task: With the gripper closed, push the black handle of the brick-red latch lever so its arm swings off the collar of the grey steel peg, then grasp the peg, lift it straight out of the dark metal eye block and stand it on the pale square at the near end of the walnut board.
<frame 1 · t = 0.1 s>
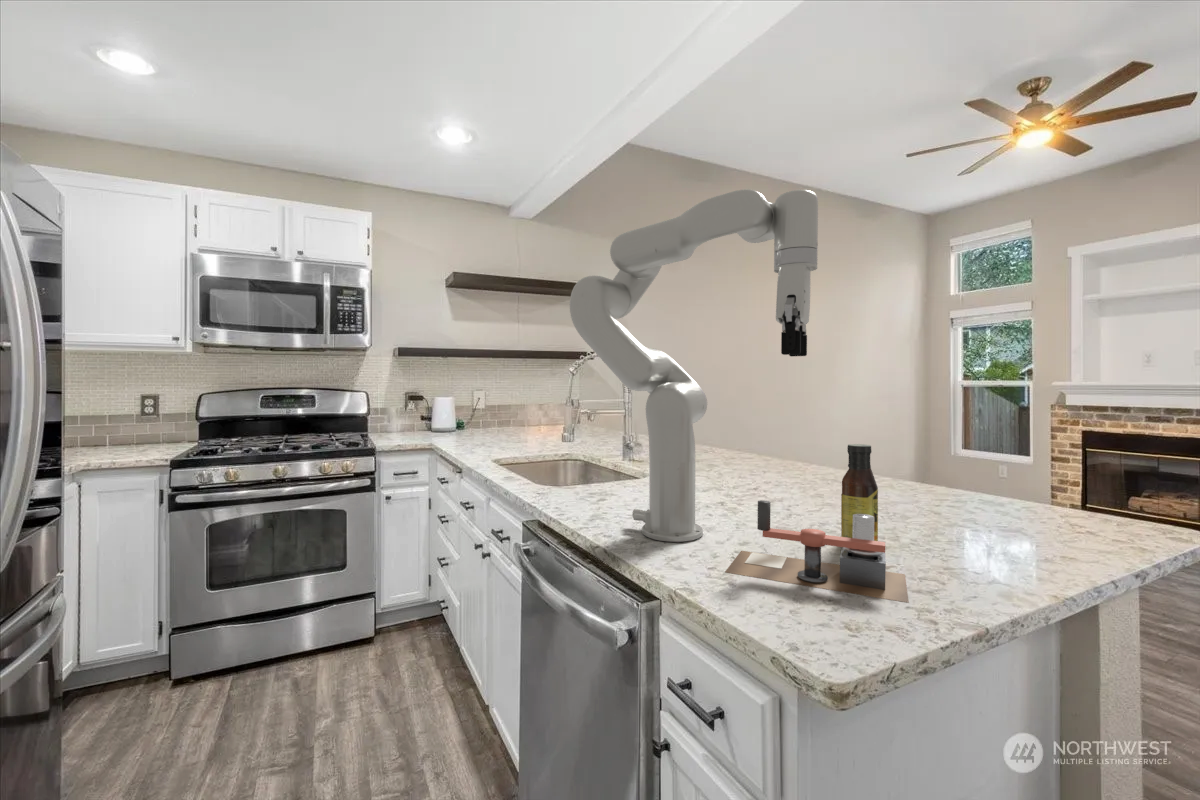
hand: (794, 355, 99), 37 cm above the worktop, tool pointing down, fingers open, 9 cm apart
eye block: (862, 585, 83), resting on board
peg: (862, 579, 83), point 1 cm above the worktop, touching board
sauce bottle: (858, 550, 101), on the worktop
board: (814, 579, 86), on the worktop
lever: (818, 525, 83), point 9 cm above the worktop, hinge at 0.0°
pivot post: (812, 584, 84), resting on board
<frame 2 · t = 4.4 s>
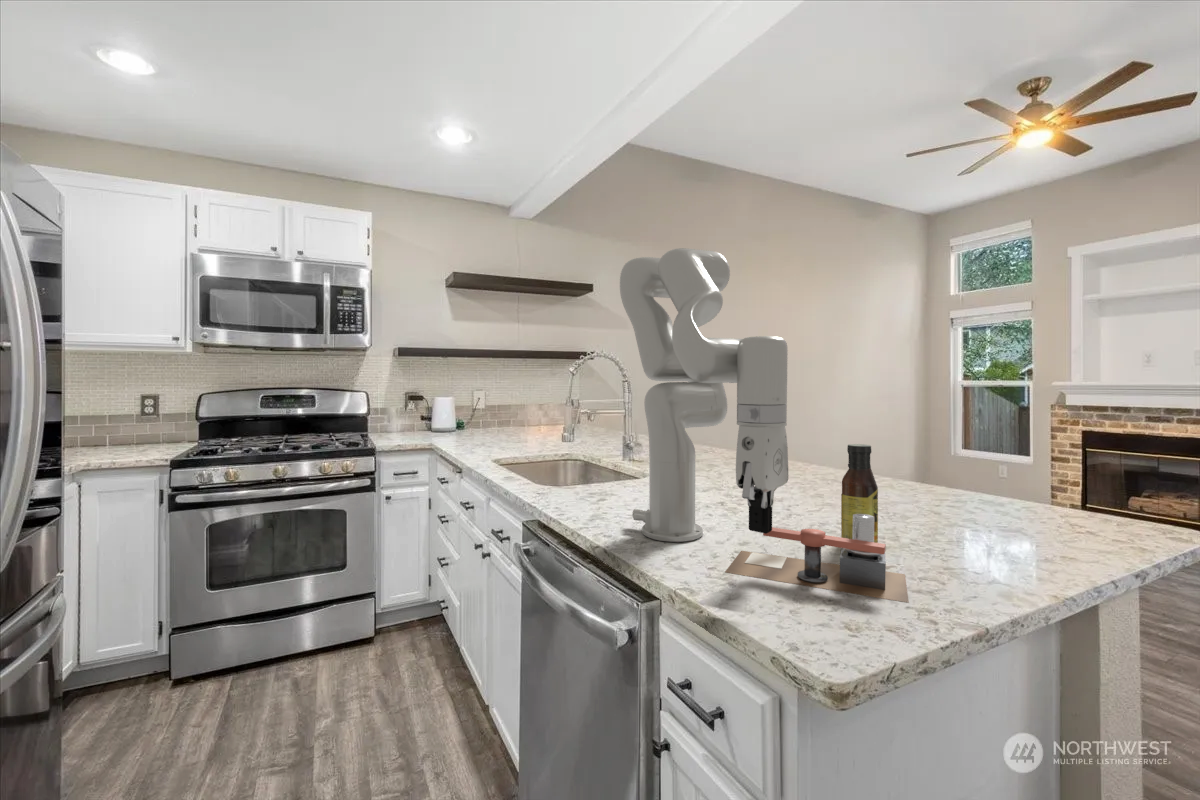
hand: (760, 530, 84), 8 cm above the worktop, tool pointing down, fingers closed
lever: (818, 525, 83), point 9 cm above the worktop, hinge at -5.7°, touching gripper
everything else where it was.
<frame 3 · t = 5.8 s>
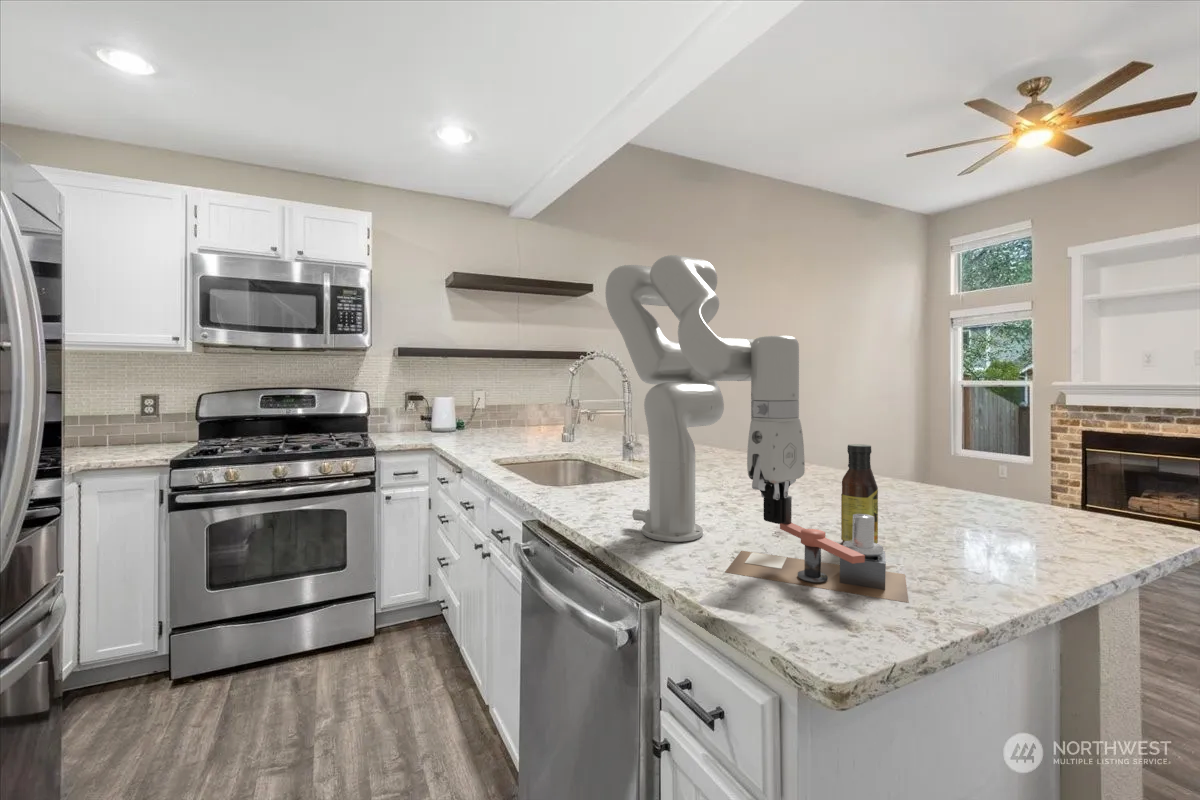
hand: (774, 521, 88), 9 cm above the worktop, tool pointing down, fingers closed
lever: (816, 526, 83), point 9 cm above the worktop, hinge at -48.3°, touching gripper
everything else where it was.
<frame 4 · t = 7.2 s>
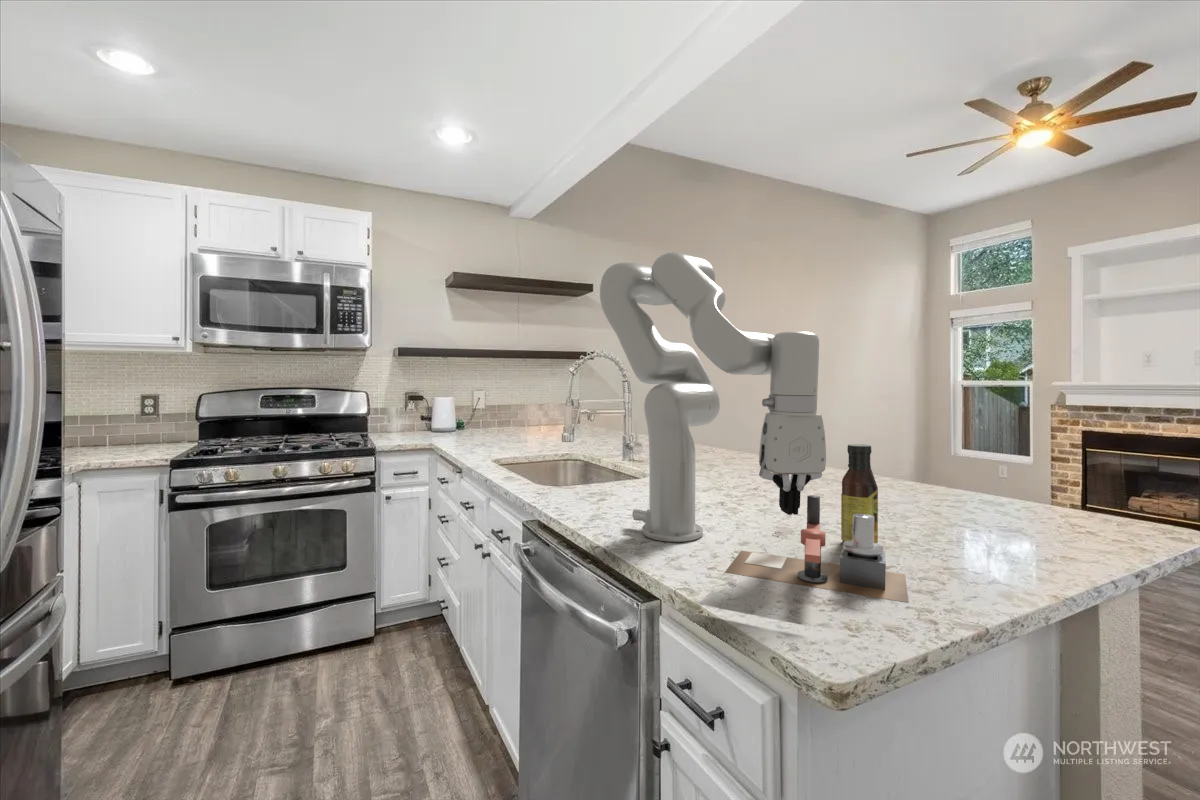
hand: (789, 512, 91), 10 cm above the worktop, tool pointing down, fingers closed
lever: (813, 526, 83), point 9 cm above the worktop, hinge at -84.7°
everything else where it was.
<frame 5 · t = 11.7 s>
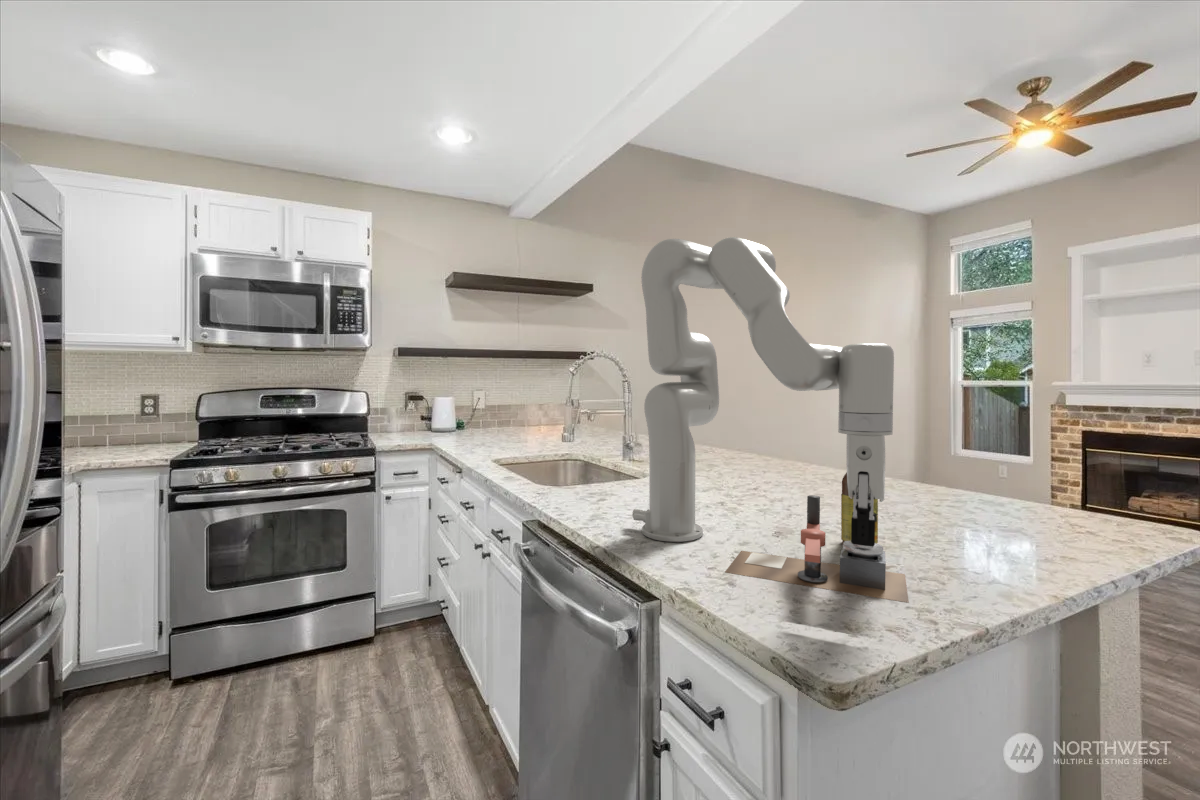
hand: (863, 540, 83), 7 cm above the worktop, tool pointing down, fingers closed on peg, 3 cm apart
peg: (862, 579, 83), point 1 cm above the worktop, touching board, gripper
everything else where it was.
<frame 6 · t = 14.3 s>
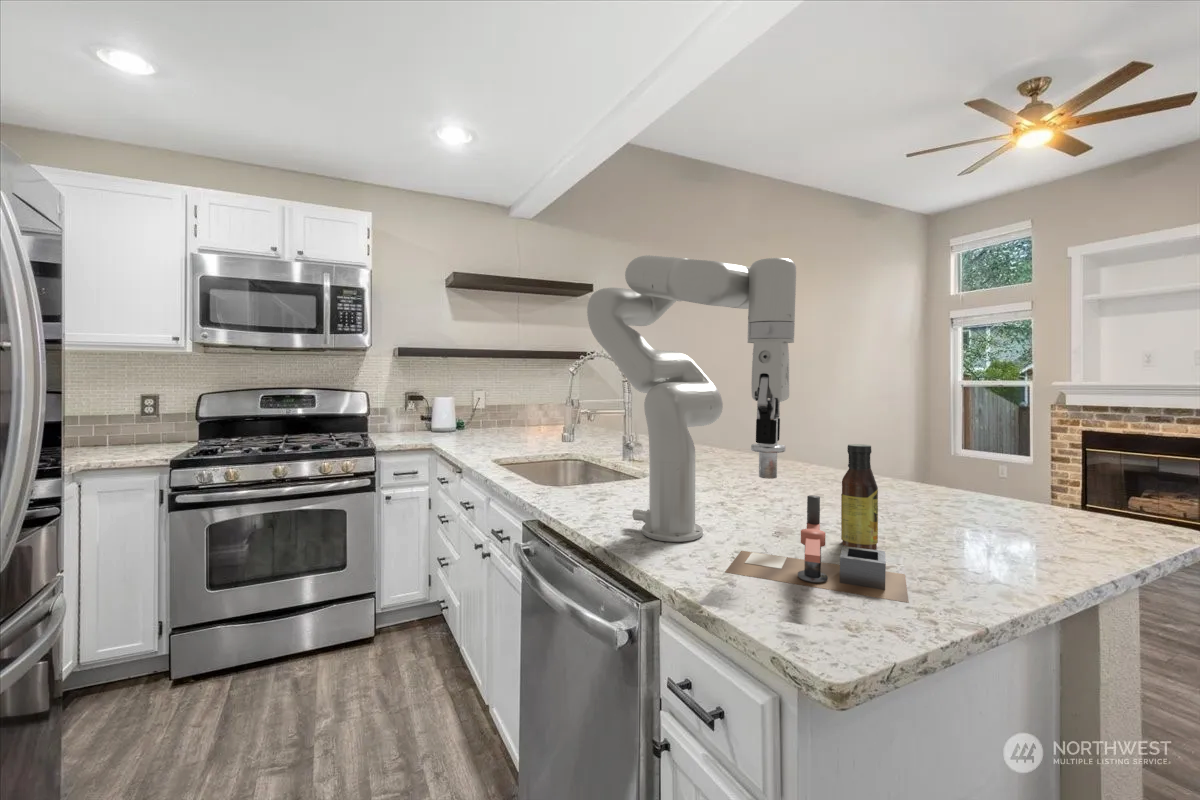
hand: (767, 441, 91), 22 cm above the worktop, tool pointing down, fingers closed on peg, 3 cm apart
peg: (767, 476, 91), point 16 cm above the worktop, touching gripper
everything else where it was.
when the fingers open (8 cm above the worktop, at t = 17.2 s): peg stays where it is, resting on board.
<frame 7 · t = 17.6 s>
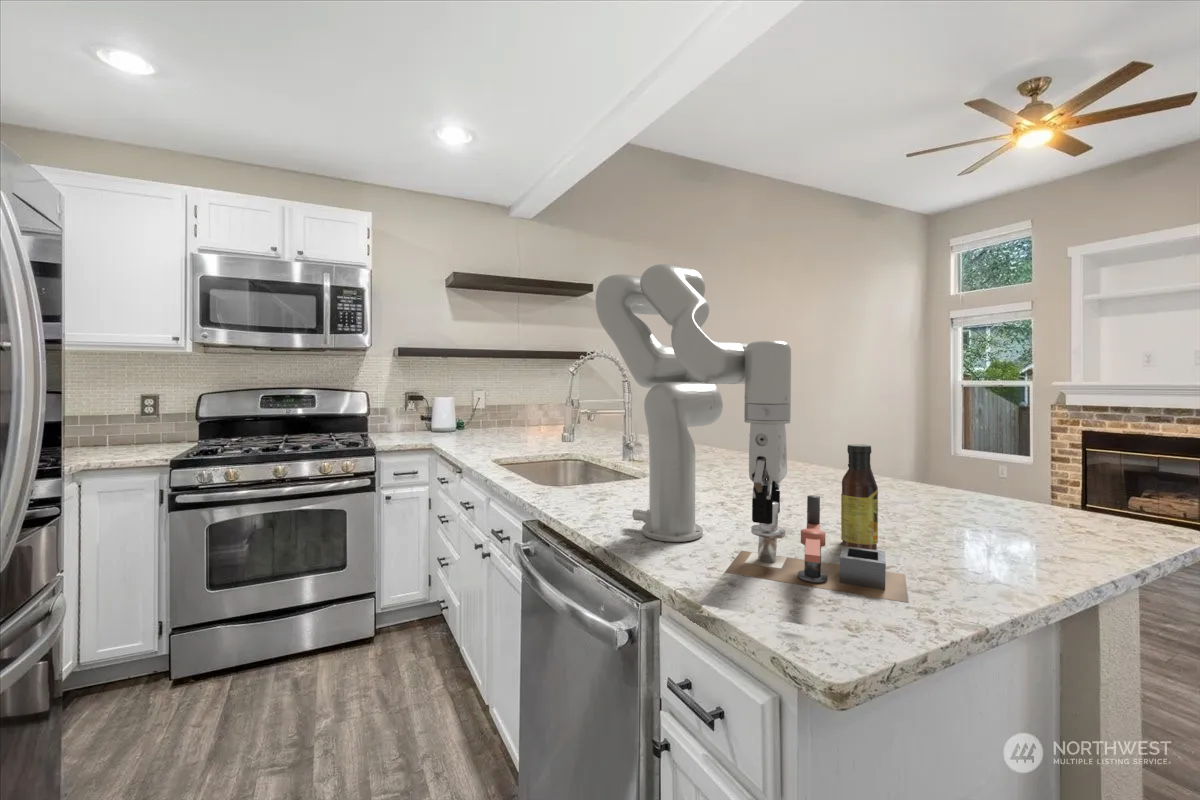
hand: (766, 516, 92), 9 cm above the worktop, tool pointing down, fingers open, 6 cm apart
peg: (766, 559, 92), point 1 cm above the worktop, touching board
everything else where it was.
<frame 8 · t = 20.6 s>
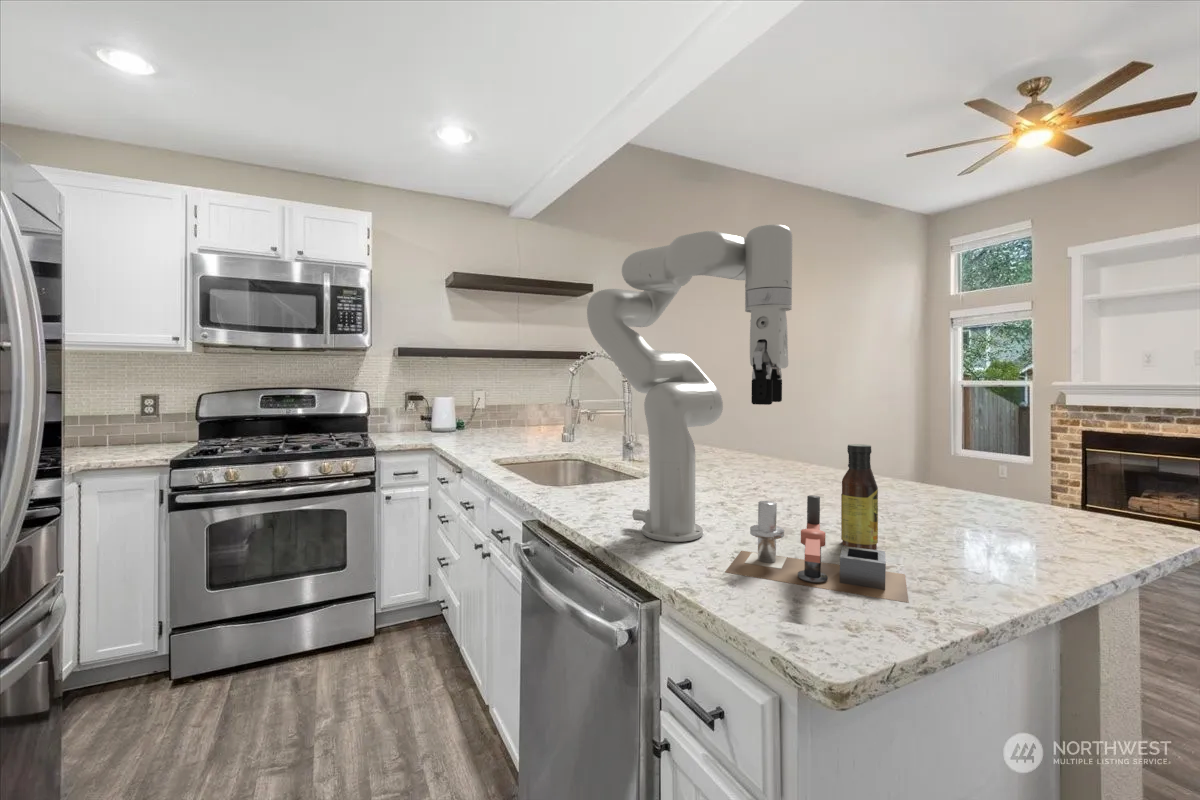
hand: (767, 402, 91), 28 cm above the worktop, tool pointing down, fingers open, 9 cm apart
nothing on the worktop moved.
at the end: lever at -85° (first picture: +0°); peg inside the target area (0.1 cm from its centre), point 1.1 cm above the worktop; peg tilted 1° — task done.
